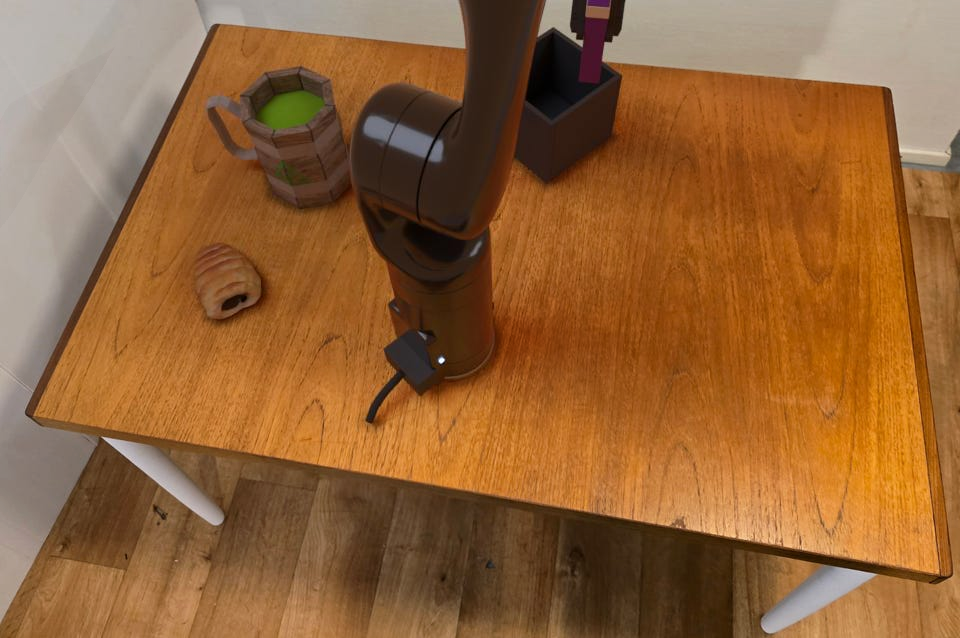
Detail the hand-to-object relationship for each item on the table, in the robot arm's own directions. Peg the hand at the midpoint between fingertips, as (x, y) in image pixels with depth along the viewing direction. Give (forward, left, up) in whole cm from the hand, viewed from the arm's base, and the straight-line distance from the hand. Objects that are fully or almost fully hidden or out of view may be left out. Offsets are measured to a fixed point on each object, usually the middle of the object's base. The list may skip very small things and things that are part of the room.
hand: (594, 39), depth 70 cm
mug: (-23, +25, -22) cm, 41 cm away
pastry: (-38, +16, -22) cm, 47 cm away
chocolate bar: (+2, +1, -5) cm, 5 cm away
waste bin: (+4, +8, -22) cm, 24 cm away
